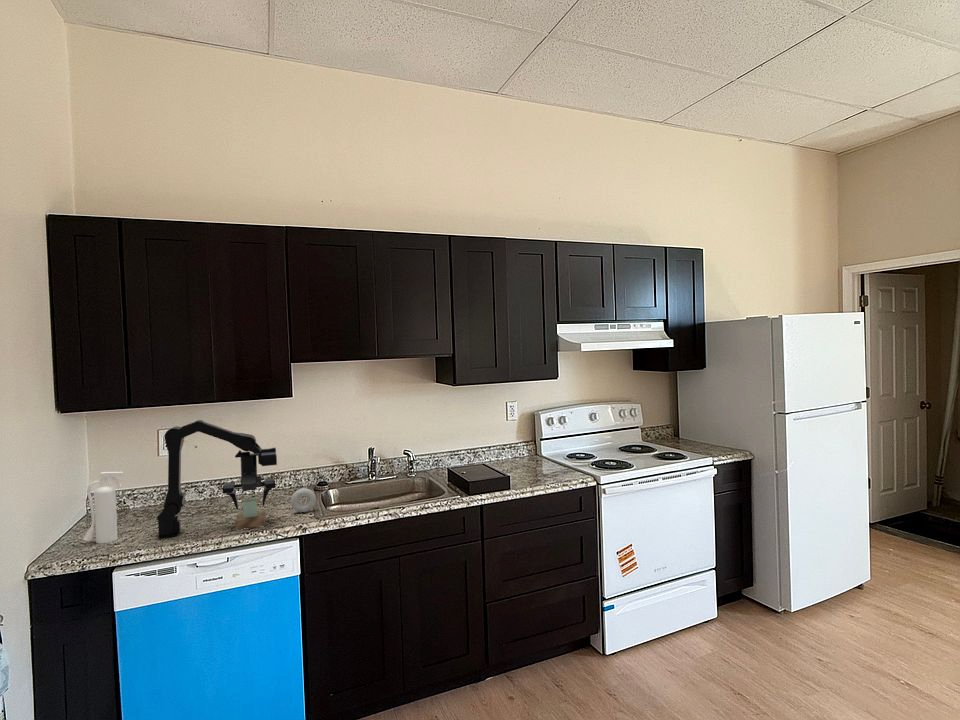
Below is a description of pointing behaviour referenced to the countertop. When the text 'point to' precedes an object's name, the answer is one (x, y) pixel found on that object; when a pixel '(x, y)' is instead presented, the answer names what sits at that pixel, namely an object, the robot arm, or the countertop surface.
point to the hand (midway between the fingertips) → (250, 507)
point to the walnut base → (250, 520)
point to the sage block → (249, 507)
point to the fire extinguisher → (103, 509)
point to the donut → (306, 506)
